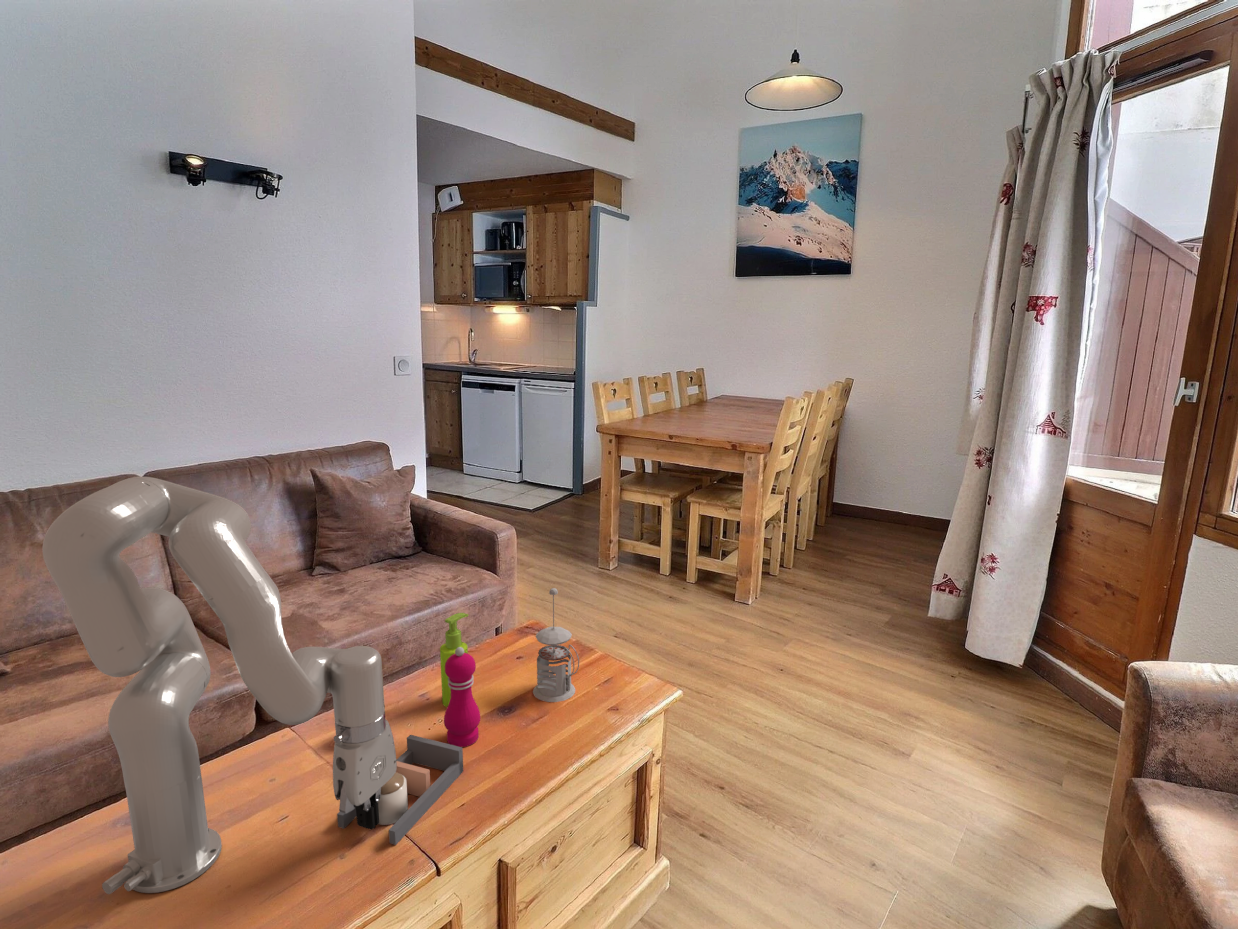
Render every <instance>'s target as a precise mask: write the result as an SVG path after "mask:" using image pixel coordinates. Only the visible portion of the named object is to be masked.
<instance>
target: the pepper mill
mask: <svg viewBox="0 0 1238 929" xmlns="http://www.w3.org/2000/svg"><path fill="white" fill-rule="evenodd" d="M476 666H477V665H476V660H475V658H474V657H473V656H472V655H471V654H470V653H468V654H467V653H464V649H463V648H462V647H458V648H457V649H456V650H455V654H453V655H452V656H450V657H449V658H448V659H447V661H446V664H445V673H446V675H447V676H448V677H449V678H448V686H449V687H450V688H451V698H450V702H449V705H448V707H446V709H445V713H444V716H443V724H444V727H445V729H446V739H447V742H448V743H447V744H450V745H454V746H458V747H462V748H464V747H465V748H466V747H469V746H472V745H474V744H475V743H476V742H477V741H478V739H479V738H480V737H479V735H480V734H479V724H480V722H481V711H480V709H479V706H478V704H477V703H476V700H475V698H474V696H473V690H472V686H473V685H474V683H475V682H474V678H475V677H474V673H475V672H476Z"/></svg>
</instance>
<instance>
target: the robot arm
mask: <svg viewBox="0 0 1238 929" xmlns="http://www.w3.org/2000/svg"><path fill="white" fill-rule="evenodd" d="M251 530H252V521H251V518H250V515H249V514H248V512H247V511H246V510H245V509H244V508H243V507H242V506H241V505H240V504H238V503H236V502H235V501H233V500H231V499H229V498H226V497H222V496H220V495H216V494H213V493H211V492H206V491H203V490H201V489H200V490H199V489H196V488H193V487H188V486H185V485H182V484H178V483H174V482H171V481H169V480H164V479H160V478H156V477H152V476H134V477H133V476H132V477H128V478H126V479H122V480H120V481H117V482H115V483H114V484H112V485H109V486H107V487H104V488H101V489H100V490H97V491H95V492H93V493H90V494H89V495H87V496H85V497H84V498H82V499H80V500H78V501H76V502H75V503H73V504H72V505H70V507H68V508H66V509H65V510H64V511H63V512H62V513H61V514H59V516H57V517H56V518H55V519H54V520H53V522H52V523H51V524H50V526H49V528H48V529H47V531H46V533H45V535H44V537H43V540H42V541H43V542H42V558H43V561H44V564H45V567H46V569H47V571H48V573H49V575H50V577H51V578H52V580H53V582H54V584H55V586H56V587H57V589H58V591H59V592H60V594H61V596H62V599H63V601H64V603H65V606H66V607H67V610H68V613H69V615H70V617H71V619H72V621H73V622H72V623H73V624H74V625H75V628H76V630H77V633H78V635H79V636H80V637H79V638H80V639H81V641H82V643H83V646H84V648H85V650H86V652H87V654H88V656H89V658H90V660H91V661H92V663H93V665H94V666H95V667H96V669H98V671H99V672H101V673H102V674H104V675H107V676H110V677H112V678H125V677H129V676H132V675H134V674H135V676H133V678H132V679H131V680H130V681H129V682H128V683H127V684H126V685H125V687H123V689H122V690H121V691H120V693H119V694H118V695H117V697H116V698H115V700H114V702H113V704H112V706H111V707H110V711H109V713H108V720H107V721H108V722H107V723H108V724H107V725H108V730H109V731H108V732H109V734H110V736H111V739H112V741H113V744H114V746H115V749H116V751H117V754H118V757H119V762H120V765H121V770H122V777H123V778H122V779H123V782H124V787H125V792H126V794H125V795H126V799H127V807H128V814H129V822H130V827H131V833H132V840H133V848H134V849H133V850H132V851H130V852H129V853H127V860H128V862H126V863H125V864H123V866H122V869H121V870H120V871H119V872H117V873H115V874H114V875H112V876H110V877H109V878H108V879H106V880H105V881H104V882H102V884H101V886H102V889H103V892H104V893H105V894H107V895H111V894H113V893H114V892H115V891H117V890H118V889H119V888H121V887H122V886H123V887H124V889H125V890H126V892H130V891H132V890H133V891H135V892H139V893H144V894H156V893H163V892H167V891H170V890H174V889H176V888H179V887H182V886H184V885H186V884H188V883H191V882H192V881H194V880H196V878H198V877H200V876H201V875H202V874H204V873H205V872H207V871H208V870H209V869H210V868H211V867H212V866H213V865H214V864H215V862H216V861H217V860H218V858H219V856H220V854H221V851H222V846H223V845H222V839H221V835H220V834H219V833H218V831H216V830H215V829H213V828H210V827H208V826H209V825H208V818H207V810H206V803H205V794H204V787H203V785H204V784H203V779H202V770H201V763H200V755H199V749H198V745H197V741H196V739H195V737H194V735H193V733H192V730H191V729H190V723H189V719H190V715H191V713H192V711H193V709H194V708H195V706H196V704H197V703H198V702H199V701H200V698H201V697H202V696H203V694H204V692H205V691H206V689H207V687H208V685H209V683H210V680H211V673H212V672H211V665H210V662H209V658H208V654H206V650H205V648H204V646H203V644H202V643H203V642H202V641H201V639H200V637H199V636H200V635H199V634H198V631H197V629H196V627H195V625H194V622H193V620H192V617H191V615H190V613H189V611H188V609H187V606H186V605H185V604H184V603H183V601H181V599H180V598H179V597H178V596H177V595H176V594H174V593H173V592H170V591H169V590H167V589H164V588H160V587H151V586H149V587H142V588H141V586H140V583H139V581H138V577H137V575H136V574H135V572H134V571H133V569H132V568H131V567H130V565H129V564H128V563H127V562H126V561H125V560H124V559H123V558H121V555H120V554H121V553H122V552H123V551H124V550H125V549H127V548H129V547H130V546H132V545H134V544H135V543H136V542H138V541H140V540H141V539H143V538H144V537H146V536H147V535H149V534H150V533H151V534H152V533H153V534H157V535H160V536H161V535H162V536H165V537H168V548H169V552H170V553H171V555H172V557H173V559H174V560H175V562H176V563H177V564H178V566H179V567H180V568H181V570H182V571H183V572H184V574H185V575H186V576H187V577H188V579H189V580H190V581H191V583H192V584H193V585H194V587H195V588H196V589H197V590H198V592H199V593H200V595H201V596H202V597H203V599H204V600H205V601H206V602H207V604H208V605H209V607H210V609H212V611H213V612H214V613H215V614H216V616H217V617H218V619H219V620H220V621H221V623H222V626H223V628H224V630H225V635H226V638H227V643H228V645H229V649H230V651H231V655H232V657H233V660H234V664H235V666H236V668H237V670H238V673H239V675H240V677H241V680H242V681H243V683H244V685H245V686H246V688H247V689H248V691H249V692H250V694H252V696H253V697H254V698H255V700H256V701H257V702H258V704H259V705H260V706H261V707H262V708H263V709H264V710H265V712H266V713H267V714H268V715H269V716H271V718H273V719H274V720H276V721H278V722H280V723H282V724H285V725H291V726H295V725H296V726H297V725H301V724H304V723H307V722H309V721H310V720H311V719H313V718H315V716H316V715H317V714H319V712H320V710H321V708H322V706H323V704H324V701H325V698H326V697H327V694H328V693H329V694H331V695H332V701H333V702H332V703H333V704H332V705H333V716H334V726H335V727H334V728H335V735H334V736H333V741H334V747H333V758H332V785H333V793H334V797H335V800H337V801H339V808H338V812H343V813H346V814H347V813H349V812H350V811H352V810H354V808H356V816H357V817H356V824H357V826H358V827H360V828H364V829H366V830H370V831H373V830H374V829H375V828H376V827H377V826H378V825H380V824H379V810H378V803H377V802H378V801H379V799H380V797H381V787H382V786H383V785H384V784H385V783H386V782H387V781H388V780H389V779H391V778H392V776H393V775H394V774H395V772H396V769H397V761H396V760H397V753H396V752H397V751H396V745H395V740H394V736H393V735H394V734H393V732H392V728H391V726H390V723H389V721H388V719H386V708H385V694H384V693H385V690H384V679H383V665H382V664H383V662H382V656H381V654H380V652H379V651H378V650H377V649H376V648H373V647H372V646H366V645H357V646H351V647H348V648H335V647H334V648H333V647H325V646H305V647H299V649H295V650H294V651H293V652H292V651H291V649H290V647H289V644H288V642H287V640H286V637H285V634H284V629H283V621H282V599H281V594H280V590H279V588H278V586H277V584H276V583H275V582H274V580H273V579H272V578H271V576H270V575H269V573H268V572H267V571H266V570H265V568H264V567H263V565H262V564H261V562H260V561H259V559H257V557H256V556H255V554H254V552H252V550H251V548H250V547H249V545H248V544H247V542H246V541H247V539H248V538H249V536H250V533H251ZM136 673H137V674H136Z"/></svg>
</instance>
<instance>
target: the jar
mask: <svg viewBox="0 0 1238 929" xmlns="http://www.w3.org/2000/svg"><path fill="white" fill-rule="evenodd" d="M377 803H378V810H379V824H378V825H381V826H389V825H394V824H395V823H396V822H397V821H398V820H399V819H400V818H401V817H402V815H403V814H404V813H405V812H406V811H407V810H408V809H409V801H408V793H407V782H406V778H405V777H404V776H403V775H402V774H400V773H397V772H395V774H394V775H393V776H392V778H391V779H389V780H388V781H387V782H386V783H385V784H384V785H383V786H382V787H381V797H380V799H379V801H378V802H377Z"/></svg>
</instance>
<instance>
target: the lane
mask: <svg viewBox="0 0 1238 929" xmlns="http://www.w3.org/2000/svg"><path fill="white" fill-rule="evenodd" d="M463 748H464V747H458V746H454V745H450V744H449V743H445V742H441V741H437V740H435V739H429V738H425V737H422V736H417V735H414V734H409V736H407V737H406V750H405V751H404V752H403V753H402V754H401V755H400V756H399V757H398V758H396V761H399V762H402V763H406V764H410V765H413V764H416V765H420V766H424V767H428V768H432V769H435V770H440V771H444V772H442V774H440V776H439V777H438V778H437V779H436V780H435V781H434V782H433V783H432V784H430V787H429V788H428V789H427V790H426V791H425V792H424V794H423V795H422V796H421V797H418V799H417V800H416V801H415V802H414V803H412V805H410V807H408V810H407V811H406V812H405V813H404V814H403V815H402V817H401V818H400V819H399V820H398V821H397V822H396V823H393V824H392V826H391V827H390V828H389V829H388V838H389V839H388V840H389V844H390V845H393V846H394V845H395V846H396V845H397V844H398V843H400V841H401V840H402V839H403V838H404V837H405V835H407V833H408V832H409V831H410V830H411V829H412V828H413V827H414V826H415V825H416V824H417V823H418V822H419V820H420V819H422V818H423V816H424V815H425V814H426V813H427V812H428V810H430V808H431V807H433V805H434V804H435V803H436V802H437V801H438V800H439V798H441V797H442V795H443V794H444V793H445V792H446V791H447V790H448V789H449V788H450V787H451V785H452V784H453V783H455V781H456V780H457V779H459V777H460V776H461V774H463V772H464V751H463ZM336 818H337V827H338V828H340V829H345V828H347V827H348V826H349V825H350V824H351V822H353V820H355V819H357V816H356V808H354V810H352V811H350V812H349V813H347V814H346V813H343V812H340V811H338V813H336Z"/></svg>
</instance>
